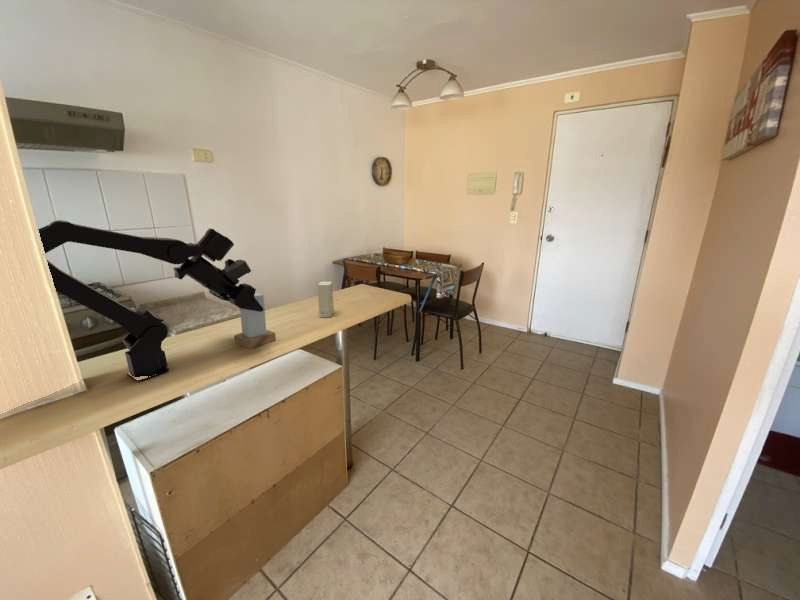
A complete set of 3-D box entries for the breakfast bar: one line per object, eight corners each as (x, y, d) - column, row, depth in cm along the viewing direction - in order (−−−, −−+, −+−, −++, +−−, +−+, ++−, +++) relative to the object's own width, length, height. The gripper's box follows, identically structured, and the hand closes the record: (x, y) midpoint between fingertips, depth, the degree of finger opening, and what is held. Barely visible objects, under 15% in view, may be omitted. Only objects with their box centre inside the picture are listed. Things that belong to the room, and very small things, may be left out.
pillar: (249, 338, 94) (245, 297, 91) (242, 333, 98) (238, 294, 94) (266, 334, 98) (263, 294, 95) (259, 329, 101) (256, 291, 98)
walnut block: (252, 351, 94) (250, 341, 93) (235, 344, 98) (234, 335, 97) (275, 341, 100) (274, 332, 99) (259, 336, 104) (258, 327, 103)
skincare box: (331, 317, 120) (329, 285, 117) (318, 317, 120) (316, 285, 117) (334, 312, 126) (332, 281, 123) (322, 312, 126) (320, 281, 123)
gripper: (243, 254, 82) (287, 290, 93) (215, 248, 94) (257, 280, 105) (213, 291, 79) (263, 323, 90) (188, 279, 91) (234, 309, 102)
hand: (255, 307), depth 97 cm, fingers open, 9 cm apart
